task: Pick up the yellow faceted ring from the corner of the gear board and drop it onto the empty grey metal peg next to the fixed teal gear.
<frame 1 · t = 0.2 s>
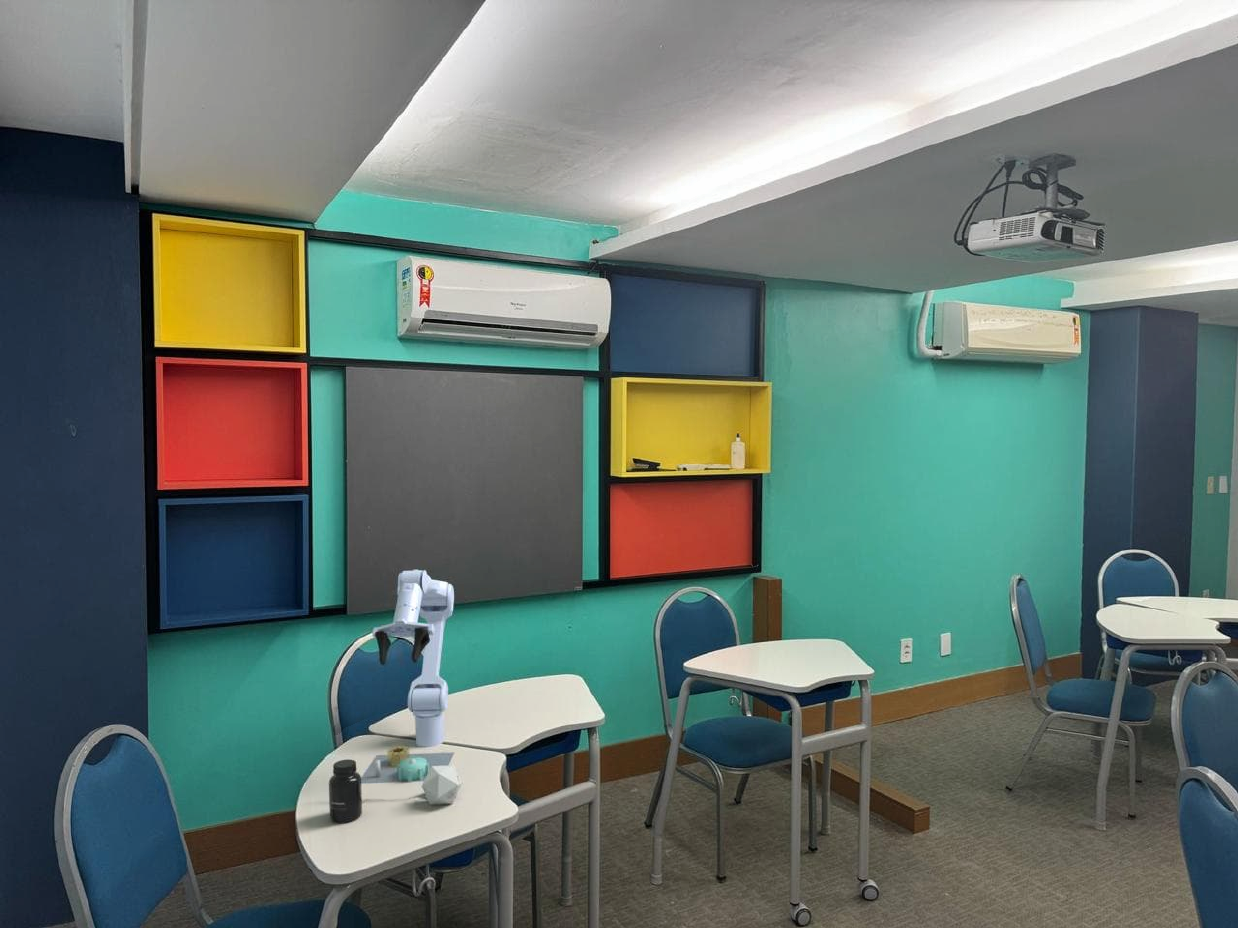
hand: (398, 661, 195), 31 cm above the table, tool tilted 45°, fingers open, 7 cm apart
gear board: (408, 771, 207), on the table
supplement bottle: (346, 817, 184), on the table
die: (442, 801, 190), on the table
yellow faceted ring: (398, 762, 210), point 1 cm above the table, touching gear board
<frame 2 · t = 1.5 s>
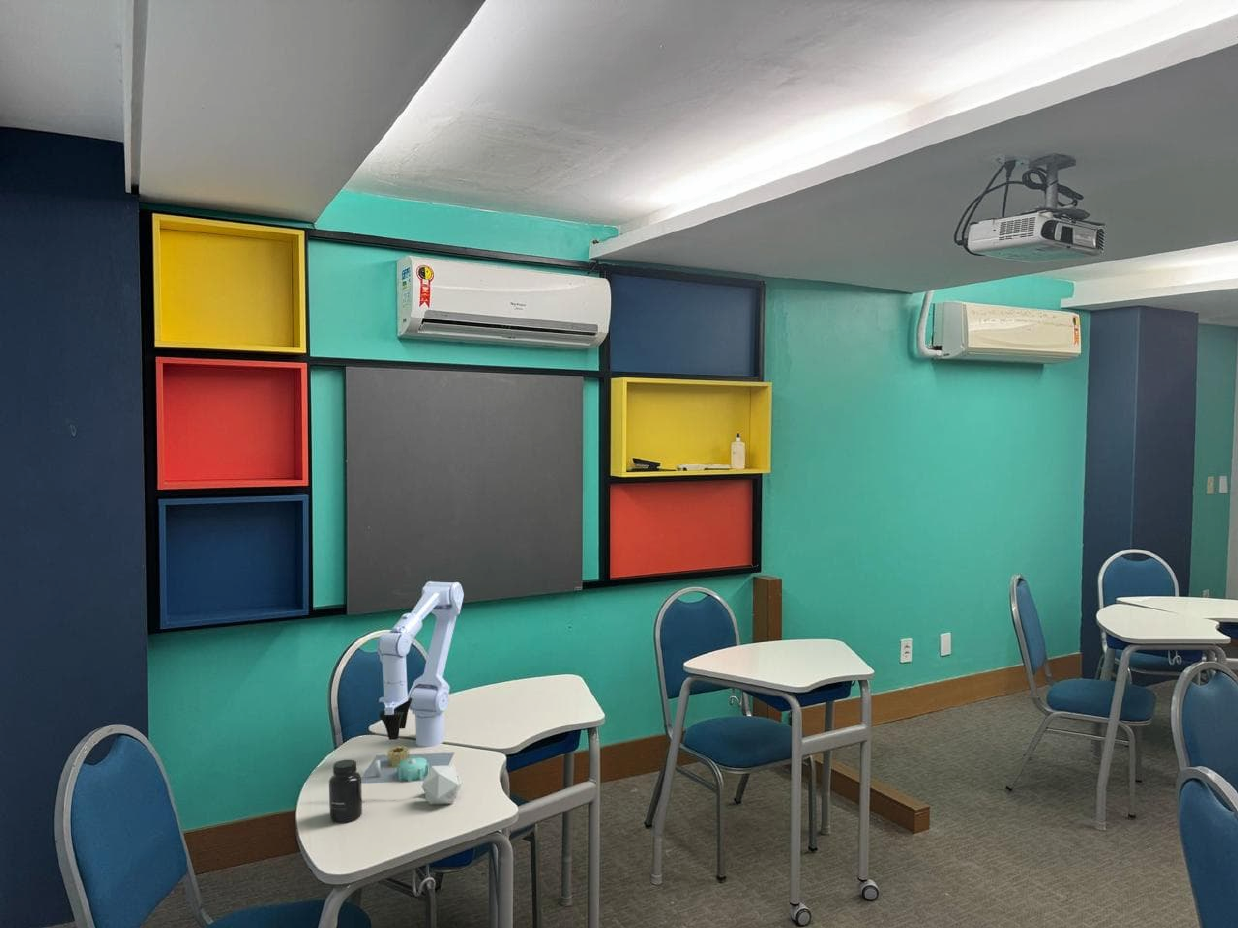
hand: (397, 733, 210), 8 cm above the table, tool pointing down, fingers open, 7 cm apart
nothing on the table moved.
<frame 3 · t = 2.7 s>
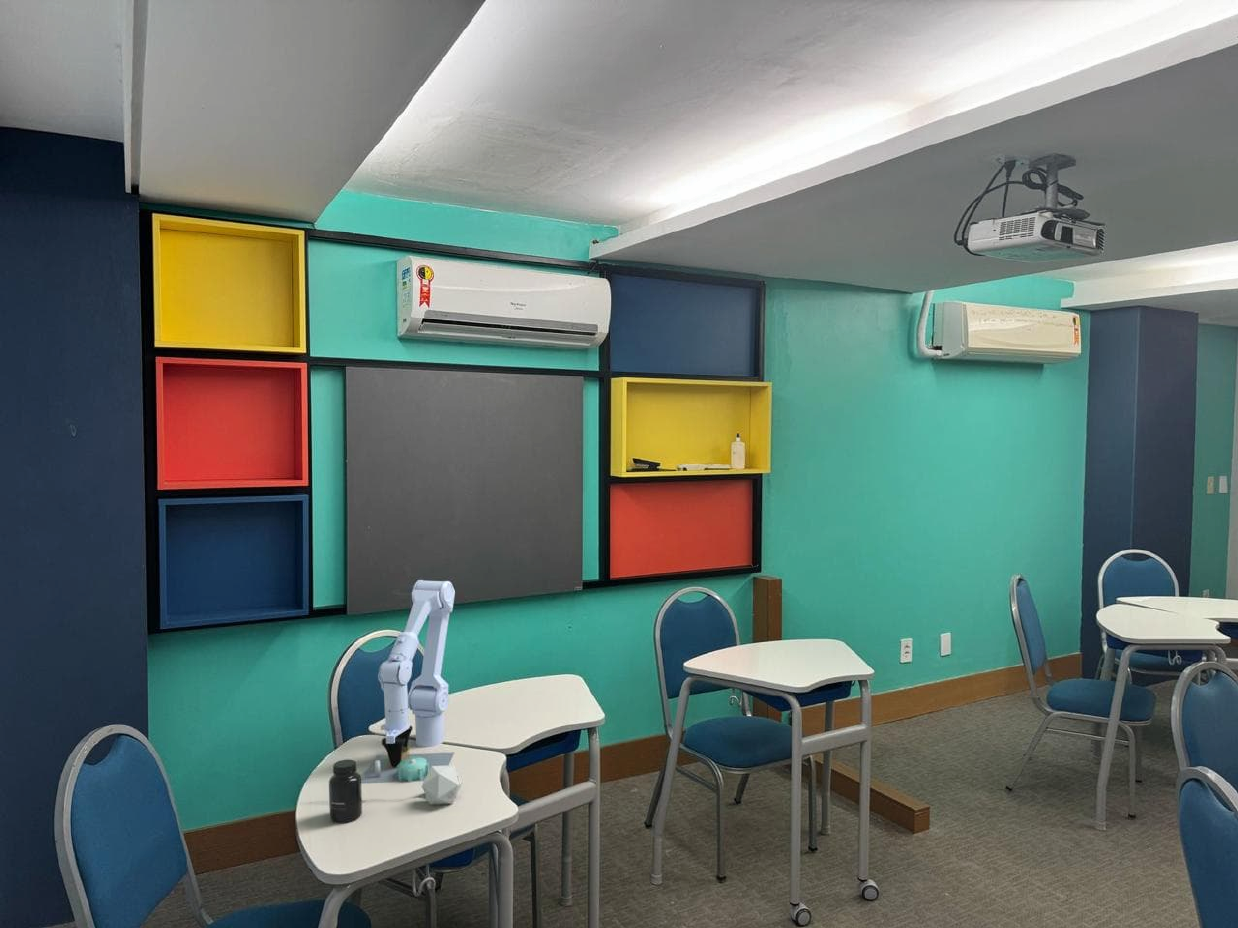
hand: (398, 761, 210), 1 cm above the table, tool pointing down, fingers closed on yellow faceted ring, 5 cm apart
yellow faceted ring: (398, 762, 210), point 1 cm above the table, touching gear board, gripper
everything else where it was.
when the fingers open (3 cm above the table, at t = 5.6 s): yellow faceted ring drops 2 cm, resting on gear board.
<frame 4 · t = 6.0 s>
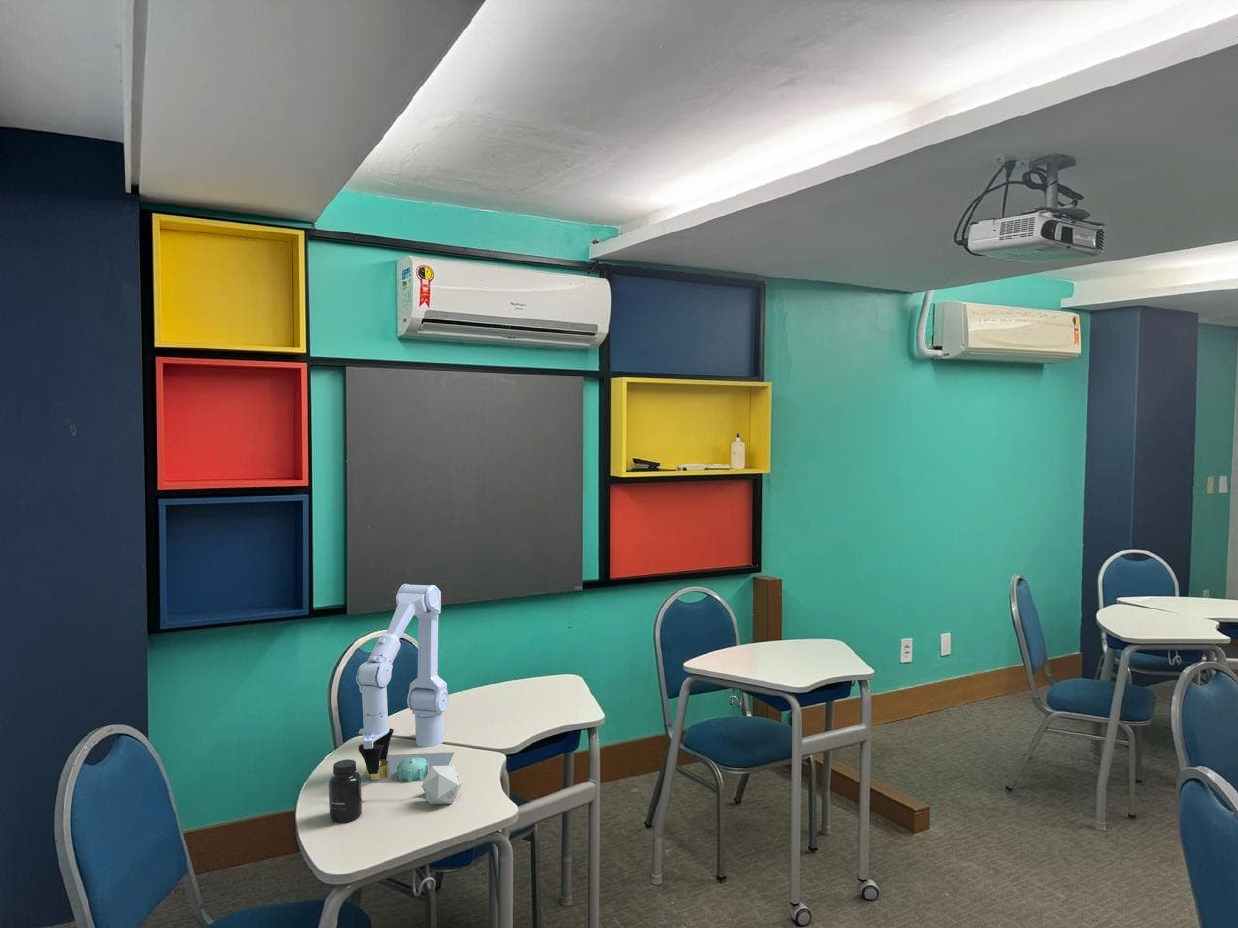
hand: (377, 766, 202), 3 cm above the table, tool pointing down, fingers open, 7 cm apart
yellow faceted ring: (378, 776, 202), point 1 cm above the table, touching gear board
everything else where it was.
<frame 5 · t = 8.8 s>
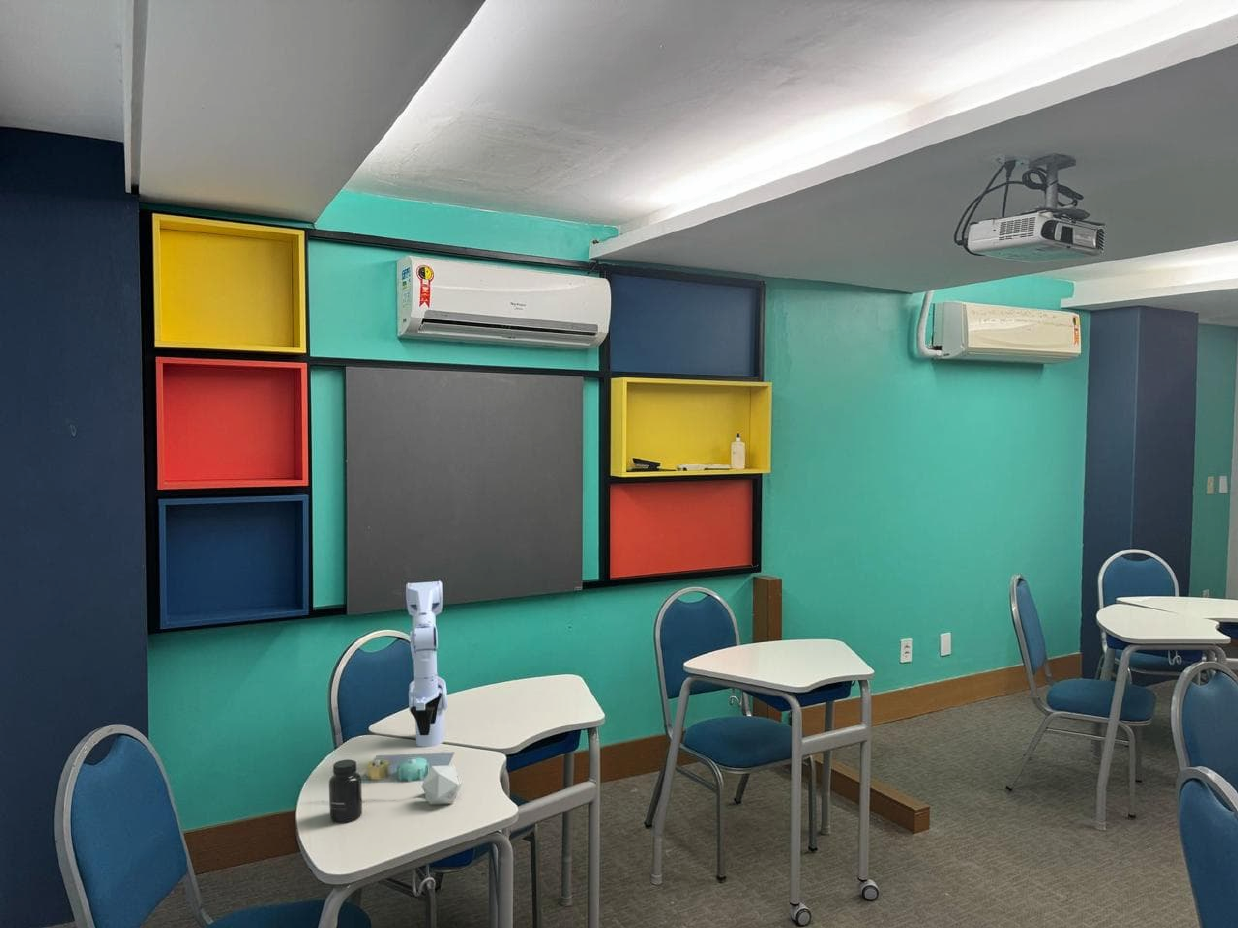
hand: (427, 729, 208), 10 cm above the table, tool pointing down, fingers open, 7 cm apart
nothing on the table moved.
at the end: yellow faceted ring 0.1 cm from the target spot on the gear board, point 1.0 cm above the gear board's base; the gripper is holding nothing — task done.
